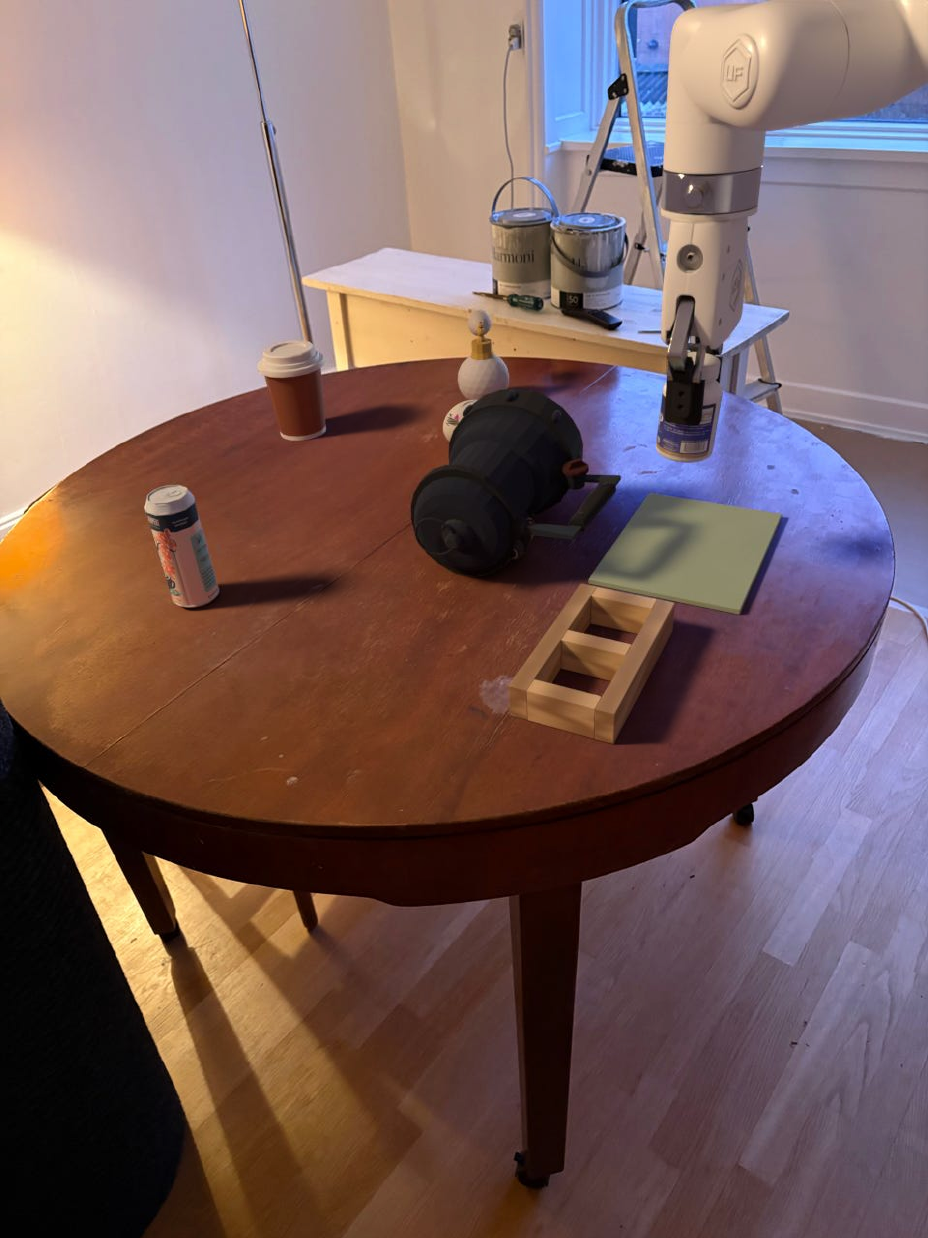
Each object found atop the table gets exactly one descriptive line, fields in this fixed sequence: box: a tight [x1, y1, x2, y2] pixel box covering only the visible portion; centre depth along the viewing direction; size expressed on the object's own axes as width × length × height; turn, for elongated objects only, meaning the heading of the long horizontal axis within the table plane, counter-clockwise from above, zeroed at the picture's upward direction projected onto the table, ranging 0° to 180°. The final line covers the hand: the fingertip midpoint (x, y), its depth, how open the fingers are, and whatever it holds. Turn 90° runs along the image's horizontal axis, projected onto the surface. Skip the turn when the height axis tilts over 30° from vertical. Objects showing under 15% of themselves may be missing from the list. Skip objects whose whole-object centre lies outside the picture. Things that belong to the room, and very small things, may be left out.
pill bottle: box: [655, 351, 724, 464], centre depth 81 cm, size 5×5×9 cm
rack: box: [508, 583, 676, 745], centre depth 77 cm, size 9×16×3 cm, turn 153°
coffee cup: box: [256, 339, 327, 442], centre depth 123 cm, size 9×9×12 cm
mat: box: [588, 492, 783, 616], centre depth 93 cm, size 15×20×1 cm
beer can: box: [143, 484, 220, 609], centre depth 88 cm, size 5×5×12 cm
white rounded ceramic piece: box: [442, 399, 477, 442], centre depth 116 cm, size 8×6×7 cm
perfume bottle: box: [457, 309, 510, 401], centre depth 129 cm, size 8×10×12 cm
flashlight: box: [410, 387, 622, 577], centre depth 92 cm, size 15×21×20 cm
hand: (691, 408), depth 81 cm, fingers closed on pill bottle, 5 cm apart
